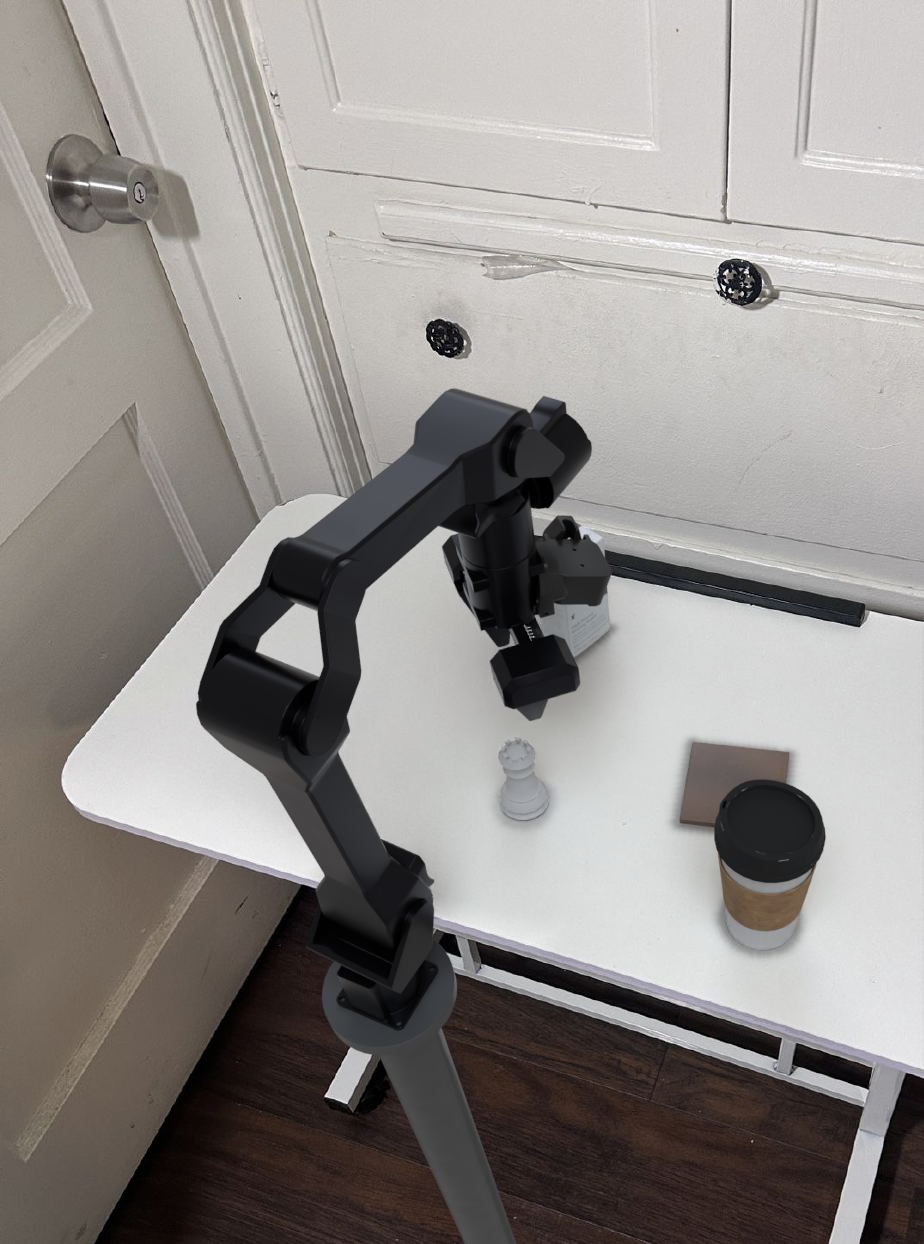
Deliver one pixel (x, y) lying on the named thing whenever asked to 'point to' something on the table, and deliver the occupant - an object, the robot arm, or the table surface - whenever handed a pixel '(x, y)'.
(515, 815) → the rook chess piece
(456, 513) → the robot arm
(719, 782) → the walnut coaster
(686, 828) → the table surface
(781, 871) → the coffee cup
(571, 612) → the cosmetic box
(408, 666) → the table surface
